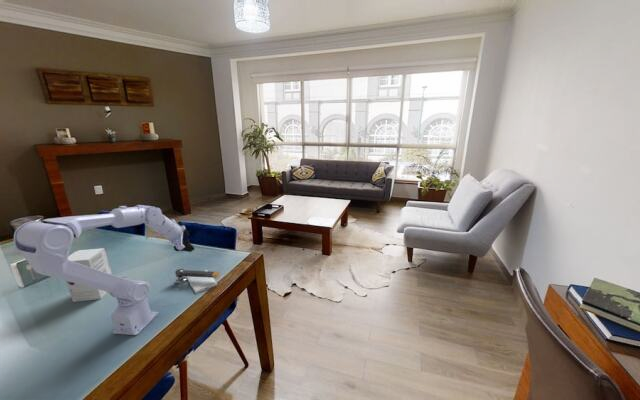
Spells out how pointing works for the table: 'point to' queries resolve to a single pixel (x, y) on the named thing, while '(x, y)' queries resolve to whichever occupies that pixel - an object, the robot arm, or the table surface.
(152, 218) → the robot arm
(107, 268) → the supplement box
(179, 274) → the grey bar
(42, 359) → the table surface
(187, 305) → the table surface
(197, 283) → the hard drive
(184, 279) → the door knob
